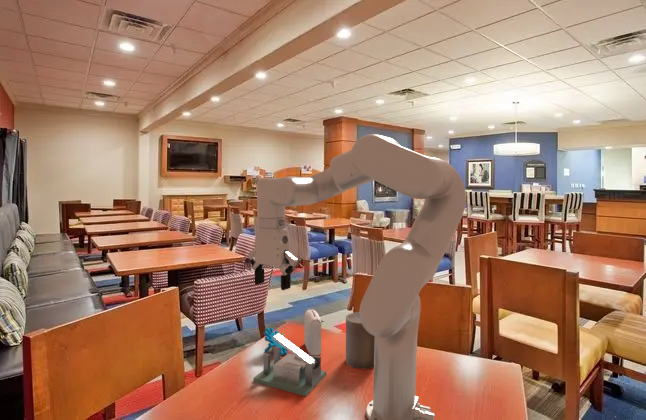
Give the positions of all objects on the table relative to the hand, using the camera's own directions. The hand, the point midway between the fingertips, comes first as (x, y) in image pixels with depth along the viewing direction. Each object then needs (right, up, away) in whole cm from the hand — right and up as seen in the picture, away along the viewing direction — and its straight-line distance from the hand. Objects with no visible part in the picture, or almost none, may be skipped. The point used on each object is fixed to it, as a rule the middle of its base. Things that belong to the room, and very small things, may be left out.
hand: (272, 286), depth 105 cm
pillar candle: (+25, -25, +11) cm, 37 cm away
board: (+5, -25, +1) cm, 26 cm away
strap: (+6, -18, 0) cm, 19 cm away
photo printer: (+10, -24, +19) cm, 33 cm away
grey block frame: (+5, -24, 0) cm, 25 cm away
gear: (-1, -24, +17) cm, 30 cm away
